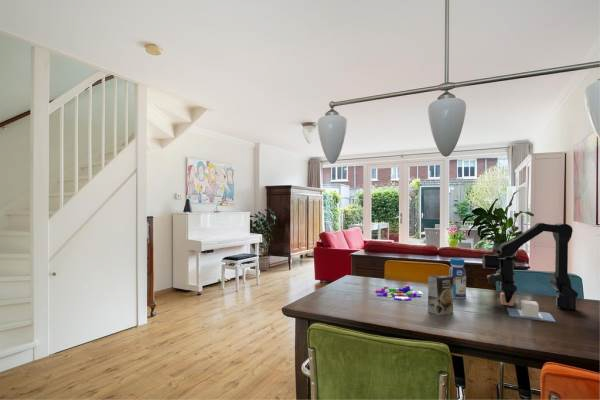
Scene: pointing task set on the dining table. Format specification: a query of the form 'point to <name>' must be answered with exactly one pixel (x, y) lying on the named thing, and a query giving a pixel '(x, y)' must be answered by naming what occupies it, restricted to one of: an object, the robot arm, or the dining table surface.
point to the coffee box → (440, 294)
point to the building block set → (395, 291)
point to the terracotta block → (503, 300)
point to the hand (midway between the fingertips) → (507, 301)
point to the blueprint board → (542, 316)
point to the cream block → (529, 308)
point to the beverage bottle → (458, 277)
